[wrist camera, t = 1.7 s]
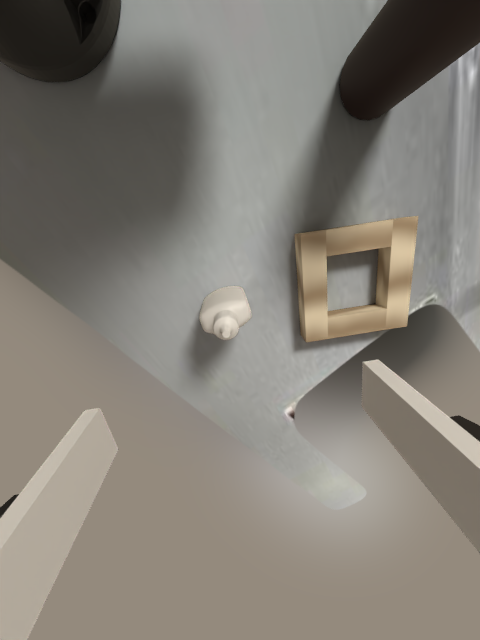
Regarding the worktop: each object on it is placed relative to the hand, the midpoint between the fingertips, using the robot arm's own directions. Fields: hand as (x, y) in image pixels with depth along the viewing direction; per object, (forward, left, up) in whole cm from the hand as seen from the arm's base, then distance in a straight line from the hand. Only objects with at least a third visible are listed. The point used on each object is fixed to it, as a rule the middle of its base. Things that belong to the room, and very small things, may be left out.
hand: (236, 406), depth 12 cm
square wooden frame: (0, +17, -22) cm, 27 cm away
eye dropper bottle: (0, 0, -22) cm, 22 cm away
